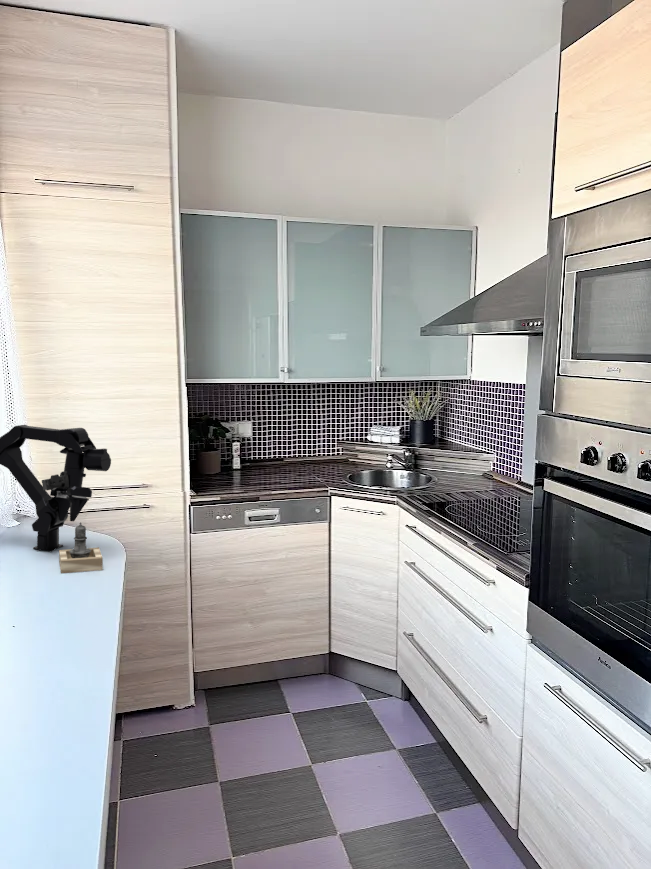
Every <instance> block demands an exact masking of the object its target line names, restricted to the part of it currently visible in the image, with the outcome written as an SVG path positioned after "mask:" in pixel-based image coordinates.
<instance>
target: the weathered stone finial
mask: <svg viewBox="0 0 651 869" xmlns="http://www.w3.org/2000/svg"><path fill="white" fill-rule="evenodd" d="M86 529H87V528H86V526H84V525H83V524H82V522H80V523H79V525H77V526H76V527H74V537H73V540H74V547H73V548H71V549H72V550H70V551H69V552H70V555H71V557H72V558H87V557H89V555H90V552H91V550H90V549H88V548H89V547H87V538H88V537H87V536H86V532H87V530H86Z"/></svg>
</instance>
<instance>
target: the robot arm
mask: <svg viewBox="0 0 651 869" xmlns="http://www.w3.org/2000/svg"><path fill="white" fill-rule="evenodd" d="M26 440H32V441H33V440H34V441H41V442H42V441H43V442H50V443H54V444H57V445H58V446H60V447H64V448H62V449H60V450H59V453H60V454H63V455H65V461H64V467H63V471H61V472H60V474H53V475H51V476H50V478H44V479H42V480H41V482H40V481H39V480H38V478H37V476H35V474H34V473H33V472H32V470H31V469H30V468H29V467H28V465H27V464H26V463H25V461H24V459H23V452H22V450H21V448H22V446H23V445H24V444H25V442H26ZM111 464H112V459H111V455H110V453H108V448H97V447H96V446H95V443H94V442H93V441H92V440H91V438H90V436H89V434H88V432H87V430H86V429H85V428H83V427H73V428H61V429H60V428H59V429H58V428H51V427H39V426H33V425H27V424H21V425H20V424H19V425H15V426H13V427H12V428H11V429H9V431H8V432H6V433H4V434H3V435H2V436H0V465H1V466H2V467H5V468H6V469H8V470H9V472H10V474H12V476H13V477H14V478H15V480H16V481H17V482H18V484H19V485H20V487H21V488H22V490H24V491H25V493H26V495H27V496H28V497H29V498H30V500H31V501H32V502H33V504H34V505H35V513H36V516H37V519H36V520H35V521H34V522H33V523H31V527H32V531H33V532H37V535H36V537H37V538H36V540H37V541H36V544H37V545H36V546H34V547H32V550H35V551H44V552H53V551H56V550H58V549H60V548H63V547H64V544H63V543H62V544H61V543H60V527H61V528H62V527H64V525H65V522H66V521H67V520H68V517H69V521H70V522H76V521H75V520H76V518H78V516H79V514H80V513H81V511H82V509H83V508H84V507H85V505H86V504H87V503H88V501H90V498H92V497H93V496H92V495H93V491H92V490H93V489H91V488H90V487H86V486H85V487H84V486H83V481H84V478H86V476H87V473H85V469H86V470H87V471H95V472H107V471H109V469H110V468H111ZM47 491H50V493H48V492H47Z"/></svg>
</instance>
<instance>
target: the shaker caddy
mask: <svg viewBox="0 0 651 869" xmlns="http://www.w3.org/2000/svg"><path fill="white" fill-rule="evenodd" d="M87 548H88V549H90V550H91V552H90V555H89V557H87V558H72V557H71V555H70V552H69V551H70V550H72V549H73V548H70V549H59V551H58V554H59V556H58V563H59V569H60V573H61V574H67V573H69V574H71V573H80V572H81V573H84V571H85V572H94V571H103V565H104V564H103V561H104V560H103V559H104V558H103V555H102V553H101V549H100V547H87Z"/></svg>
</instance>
